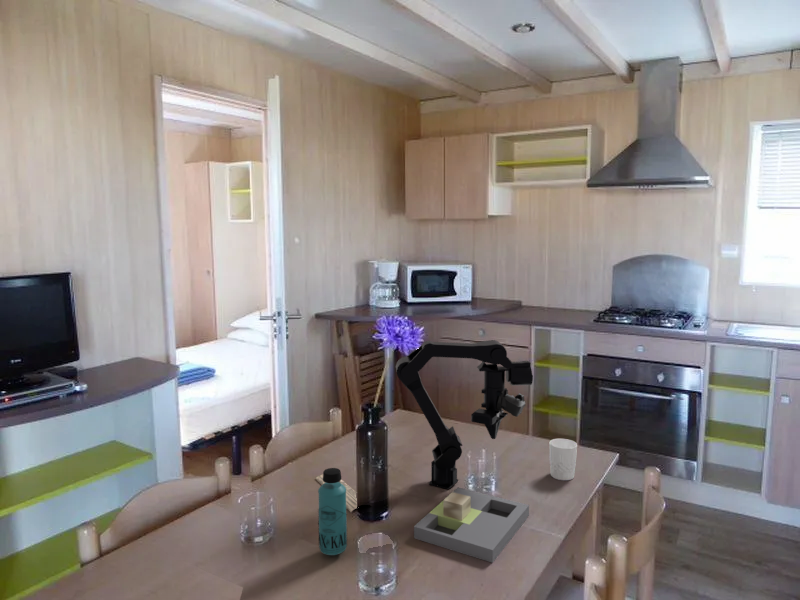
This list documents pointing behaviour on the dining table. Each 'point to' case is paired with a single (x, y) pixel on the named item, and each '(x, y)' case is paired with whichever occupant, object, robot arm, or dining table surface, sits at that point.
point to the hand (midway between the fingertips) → (493, 438)
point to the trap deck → (474, 526)
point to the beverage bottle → (332, 513)
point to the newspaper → (350, 494)
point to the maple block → (457, 506)
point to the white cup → (562, 458)
